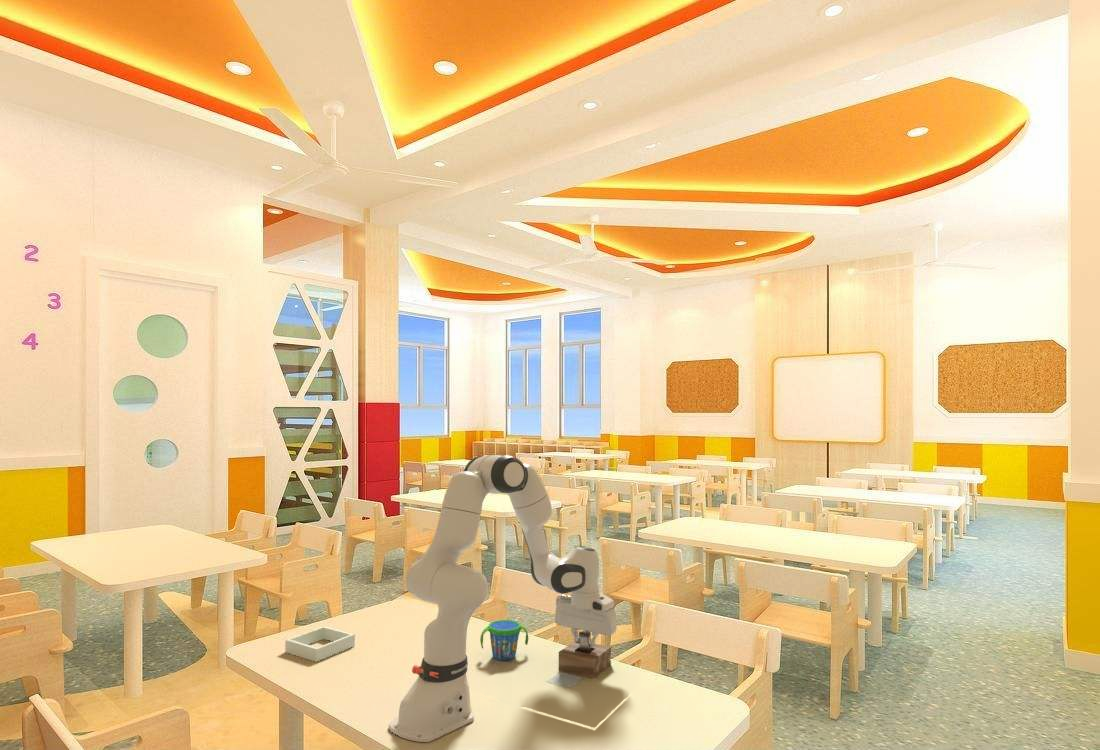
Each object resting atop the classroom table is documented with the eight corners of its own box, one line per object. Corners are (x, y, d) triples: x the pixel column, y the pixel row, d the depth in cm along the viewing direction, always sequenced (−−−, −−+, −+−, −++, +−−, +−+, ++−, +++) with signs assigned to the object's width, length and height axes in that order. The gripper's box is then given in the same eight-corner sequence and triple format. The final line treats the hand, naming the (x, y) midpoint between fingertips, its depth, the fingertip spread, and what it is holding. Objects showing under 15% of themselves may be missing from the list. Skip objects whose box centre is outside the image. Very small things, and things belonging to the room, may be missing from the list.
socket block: (593, 680, 185) (593, 660, 186) (558, 671, 192) (558, 651, 192) (610, 666, 196) (610, 647, 196) (577, 658, 202) (577, 639, 202)
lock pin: (587, 659, 191) (587, 635, 192) (577, 656, 193) (577, 633, 194) (592, 655, 194) (592, 632, 195) (582, 652, 196) (582, 630, 197)
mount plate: (569, 690, 179) (569, 687, 179) (546, 683, 183) (546, 681, 183) (583, 679, 186) (583, 677, 186) (559, 673, 190) (559, 671, 190)
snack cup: (526, 649, 209) (526, 618, 210) (529, 662, 199) (530, 629, 200) (479, 651, 207) (480, 620, 208) (480, 664, 197) (480, 631, 197)
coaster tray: (316, 662, 198) (316, 649, 198) (285, 652, 206) (285, 639, 206) (354, 646, 211) (354, 634, 212) (323, 637, 219) (324, 626, 220)
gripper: (551, 596, 197) (550, 640, 197) (609, 606, 187) (609, 654, 186) (561, 591, 203) (560, 634, 202) (618, 601, 192) (618, 647, 191)
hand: (584, 644), depth 194 cm, fingers closed on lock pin, 3 cm apart
